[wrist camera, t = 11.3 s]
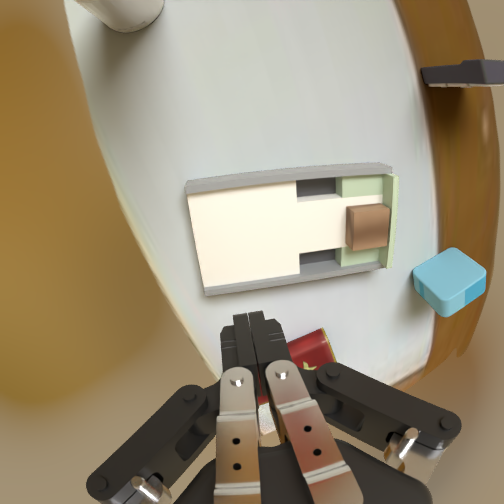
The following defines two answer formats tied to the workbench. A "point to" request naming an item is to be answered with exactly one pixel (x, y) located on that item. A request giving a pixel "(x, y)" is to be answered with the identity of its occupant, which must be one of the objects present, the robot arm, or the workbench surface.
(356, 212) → the walnut block
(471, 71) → the grey white red block
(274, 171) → the box
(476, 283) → the data package
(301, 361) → the hardcover book
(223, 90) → the workbench surface
